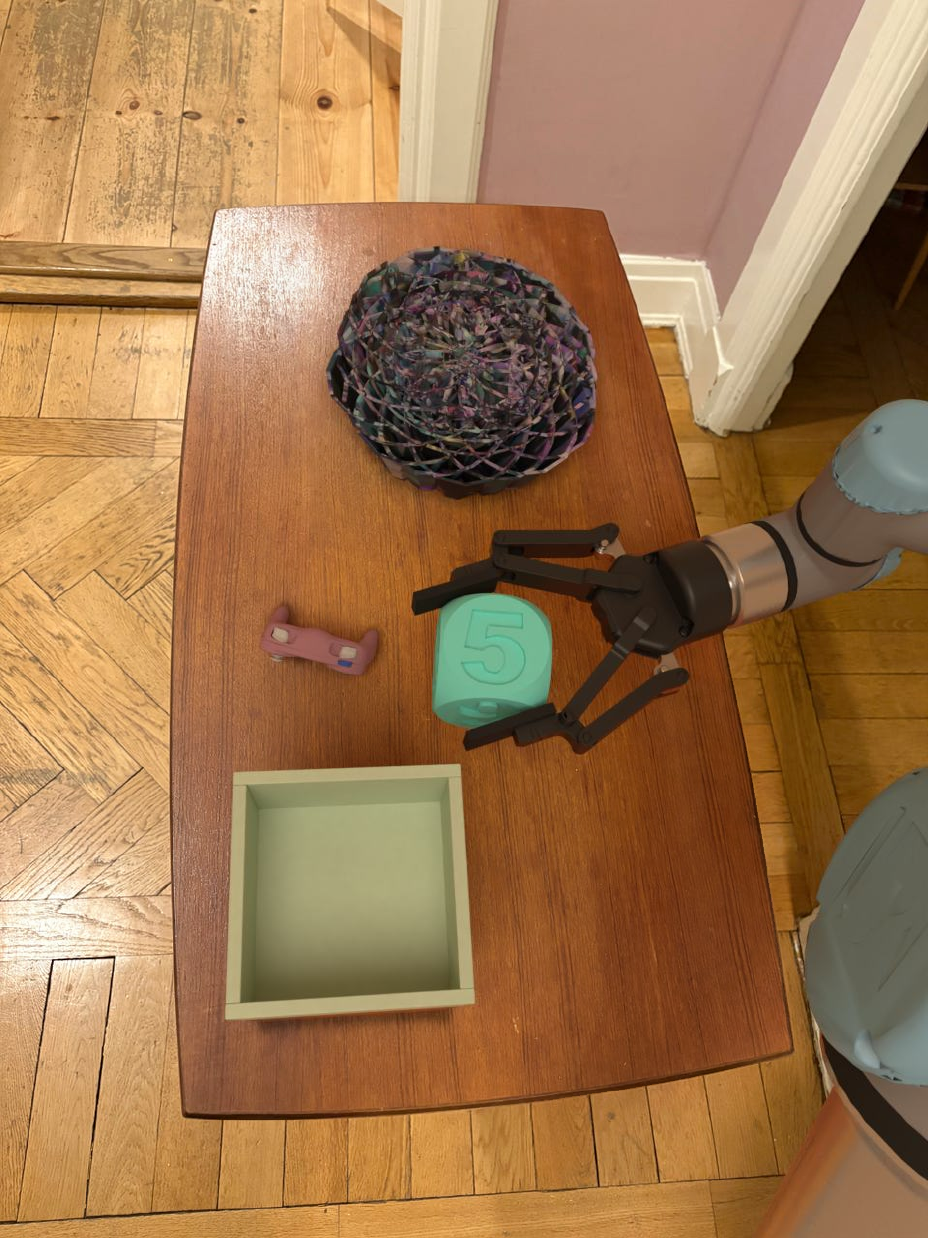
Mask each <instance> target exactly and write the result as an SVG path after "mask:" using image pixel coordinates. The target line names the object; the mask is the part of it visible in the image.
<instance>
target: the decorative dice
mask: <svg viewBox="0 0 928 1238" xmlns="http://www.w3.org/2000/svg"><path fill="white" fill-rule="evenodd" d="M433 654H434V655H433V667H432V670H433V671H432V685H431V686H432V687H431V711H432V712H433V713H434V714H435V715H436V716H437V717H438V718H439V719H440V720H441V721H443V722H445V723H448V724H450V725H453V726H456V727H459V728H464V729H468V730H471V729H474V728H477V727H479V726H482V725H485V724H488V723H491V722H494V721H497V720H500V719H503V718H506V717H509V716H512V715H515V714H518V713H521V712H524V711H527V710H530V709H533V708H536V707H539V706H542V705H545V704H548V699H549V693H550V685H551V678H552V677H551V676H552V664H553V635H552V625H551V621H550V618H549V617H548V616H547V615H546V614H545V613H544V611H543V610H542V609H541V608H539V607H538V606H537V605H536V604H535V603H533V602H531V601H529V600H527V599H525V598H522V597H519V596H516V595H511V594H505V593H497V592H496V593H495V592H493V593H481V594H472V595H466V596H462V597H459V598H456V599H454V600H452V601H450V602H448V603H447V604H446V605H444V606H443V607H442V608H440V609H438V616H437V623H436V632H435V643H434V653H433Z"/></svg>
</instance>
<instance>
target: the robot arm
mask: <svg viewBox="0 0 928 1238" xmlns="http://www.w3.org/2000/svg"><path fill="white" fill-rule="evenodd" d="M619 534H620V527H619V526H618V524H616V523H615V522H608V523H605V524H602V525H599V526H596V527H593V528H590V529H498V530H496V531H495V532H493V534H492V537H491V542H490V546H489V550H488V553H489V557H487V558H485V559H482V560H478V561H474V562H472V563H469V564H465V565H461V566H458V567H455V568H454V569H453V570H452V571H450V576H449V581H446V582H443V583H440V584H436V585H432V586H429V587H426V588H422V589H419V590H415V591H413V592H412V597H411V606H410V607H411V608H410V609H411V611H412V614H413V616H414V617H416V616H419V615H423V614H426V613H430V612H433V611H436V610H440V609H441V608H442V607H443V606H444V605H446V604H447V603H448V602H450V601H452V600H454V599H456V598H459V597H462V596H466V595H472V594H481V593H495V592H496V590H497V587H498V583H499V582H500V583H505V584H510V585H514V586H518V587H522V588H529V589H533V590H537V591H543V592H547V593H552V594H556V595H562V596H567V597H571V598H574V599H575V600H576V601H578V602H580V603H586V604H589V605H590V607H589V608H590V611H591V613H592V615H593V616H594V618H595V619H596V620H597V621H598V623H599V624H600V628H601V635H602V637H603V639H604V641H605V643H606V644H607V643H609V644H610V645H611V646H612V647H611V648H610V650H608V652H607V653H606V654H605V656H604V657H603V658H602V659H601V661H600V662H599V663H598V665H597V666H596V667H595V668H594V670H593V671H592V672H591V673H590V675H589V676H588V677H587V678H586V679H585V681H584V682H583V683H582V685H581V686H580V687H579V688H578V690H577V691H576V692H575V694H574V695H573V696H572V697H571V698H570V699H569V701H568V702H567V704H566V705H565V706H564V707H563V708H562V709H561V711H560V712H558V710H557V708H556V707H555V704H554V702H553V701H552V702H549V703H548V702H547V704H545V705H542V706H539V707H536V708H533V709H530V710H527V711H524V712H521V713H518V714H515V715H512V716H509V717H506V718H503V719H500V720H497V721H494V722H491V723H488V724H485V725H482V726H479V727H477V728H474V729H468V730H466V731H465V733H464V736H463V739H462V746H463V747H464V750H465V752H469V751H473V750H476V749H478V748H481V747H484V746H487V745H490V744H493V743H496V742H499V741H502V740H504V739H508V738H512V739H513V742H514V744H515V747H516V748H525V747H528V746H531V745H534V744H536V743H539V742H542V741H545V740H548V739H551V738H555V737H560V738H563V739H564V740H565V741H566V742H567V743H568V744H569V745H570V746H571V750H572V752H573V753H574V754H576V755H579V756H582V755H585V754H586V753H587V752H589V751H590V750H591V749H593V748H594V747H595V746H596V745H598V744H599V743H601V742H602V741H603V740H605V738H607V737H608V736H610V735H611V734H612V733H613V732H614V731H616V730H617V729H619V728H620V727H621V726H622V725H623V724H625V723H627V721H629V720H630V719H632V718H633V717H634V716H635V715H636V714H638V713H639V712H641V711H642V710H643V709H644V708H646V707H647V706H648V705H650V704H651V703H653V701H655V700H659V699H661V698H665V697H669V696H672V695H675V694H677V693H679V691H680V690H681V689H682V688H683V687H684V686H685V685H686V684H687V683H688V681H689V680H690V677H691V676H690V673H689V671H688V670H687V669H686V668H684V667H680V664H679V662H678V660H677V657H676V655H675V651H676V650H677V649H679V648H680V647H683V646H686V645H689V644H693V643H696V642H698V641H701V640H704V639H707V638H711V637H714V636H716V635H720V634H721V633H723V632H725V631H726V629H727V630H733V629H737V628H740V627H744V626H746V625H749V624H752V623H756V622H759V621H762V620H765V619H768V618H771V617H774V616H776V615H778V614H780V613H785V612H787V611H791V610H794V609H796V608H800V607H803V606H805V605H809V604H813V603H815V602H819V601H821V600H825V599H828V598H831V597H834V596H837V595H840V594H841V595H842V594H843V593H850V592H856V591H859V590H861V589H863V588H865V587H867V586H869V585H870V584H871V583H874V582H877V581H878V580H879V581H880V580H881V579H884V578H886V577H888V576H890V575H891V574H892V573H894V572H895V571H896V570H897V568H898V567H899V566H900V564H901V562H902V553H903V552H904V550H907V551H910V552H914V553H917V554H920V555H924V556H926V557H928V401H927V400H923V399H913V398H904V399H903V398H902V399H898V400H894V401H890V402H888V403H885V404H883V405H881V406H879V407H877V408H876V409H874V410H873V411H872V412H870V414H869V415H868V416H867V417H866V418H864V419H863V420H862V421H861V422H860V423H859V424H858V425H857V426H856V427H855V428H854V429H853V430H852V431H851V432H850V433H849V434H848V435H847V436H846V437H844V438H843V439H842V441H841V442H840V444H839V445H838V446H837V448H835V450H834V453H833V454H832V455H831V456H830V458H829V459H828V461H827V462H826V464H825V465H824V467H823V468H822V469H821V470H820V472H819V473H817V475H816V477H815V478H814V480H812V482H811V483H810V484H809V485H808V486H807V487H806V489H805V490H804V491H803V492H802V493H801V494H800V495H799V497H797V499H796V500H795V501H794V503H793V504H792V505H791V506H790V507H789V508H787V509H785V510H784V511H780V512H778V513H774V514H771V515H768V516H765V517H762V518H759V519H755V520H753V521H749V522H745V523H743V524H739V525H736V526H732V527H729V528H726V529H722V530H719V531H714V532H711V533H708V534H705V535H702V536H699V538H698V539H697V540H696V539H689V540H686V541H682V542H679V543H676V544H672V545H669V546H666V547H663V548H659V549H656V550H653V551H650V552H648V553H645V554H641V555H633V554H630V553H629V554H628V553H626V551H625V549H624V547H623V545H622V543H621V542H620V540H619V538H618V536H619ZM591 557H594V559H595V560H597V561H599V560H607V561H610V563H611V565H610V566H609V568H608V569H607V570H602V569H598V568H593V567H587V568H584V569H583V568H576V567H573V566H567V565H562V564H559V563H554V562H548V561H544V560H540V559H586V558H591ZM631 653H632V654H635V655H639V656H642V657H646V658H648V659H652V660H655V661H656V660H657V665H656V666H655V667H654V668H653V669H652V671H651V672H650V675H649V677H650V678H648V679H647V680H645V681H644V682H642V683H641V684H640V685H639V686H637V687H636V688H635V689H633V690H632V691H631V692H629V693H628V694H627V695H625V696H624V697H623V698H622V699H620V700H618V702H616V703H615V704H614V705H612V706H611V707H610V708H608V709H607V710H606V711H604V713H602V714H601V715H599V716H598V717H596V718H595V719H594V720H592V722H590V723H589V724H588V725H586V726H585V725H584V724H583V723H582V722H581V721H580V720H579V719H580V718H581V717H582V715H583V714H584V713H585V711H586V710H587V709H588V707H590V705H591V704H592V702H593V701H594V700H595V699H596V697H597V696H598V694H600V692H601V691H602V689H603V688H604V687H605V686H606V685H607V683H608V682H609V681H610V680H611V678H612V677H613V676H614V674H615V673H616V672H617V670H618V669H619V668H620V667H621V665H623V663H624V662H625V660H626V659H627V658H628V657H629V655H630V654H631ZM815 901H816V902H817V903H818V904H819V909H818V911H817V913H816V916H815V918H814V919H813V920H812V921H811V922H809V925H808V929H807V935H806V941H805V949H804V981H805V991H806V996H807V1001H808V1004H809V1008H810V1011H811V1014H812V1016H813V1019H814V1021H815V1023H816V1026H817V1027H818V1029H819V1037H818V1039H819V1040H818V1043H819V1049H820V1053H821V1058H822V1061H823V1063H824V1067H825V1070H826V1073H827V1075H828V1077H829V1080H830V1082H831V1084H832V1085H833V1086H832V1088H831V1090H830V1091H829V1094H828V1095H827V1097H826V1098H825V1100H824V1102H823V1104H822V1107H821V1108H820V1110H819V1112H818V1114H817V1116H816V1118H815V1119H814V1121H813V1123H812V1125H811V1127H810V1128H809V1131H808V1132H807V1134H806V1136H805V1138H804V1140H803V1142H802V1144H801V1145H800V1147H799V1149H798V1151H797V1153H796V1155H795V1156H794V1158H793V1160H792V1162H791V1163H790V1166H789V1168H788V1169H787V1171H786V1173H785V1175H784V1177H783V1179H782V1181H781V1182H780V1184H779V1186H778V1188H777V1190H776V1192H775V1194H774V1195H773V1198H772V1199H771V1201H770V1203H769V1205H768V1206H767V1209H766V1210H765V1212H764V1213H763V1215H762V1218H761V1220H760V1221H759V1223H758V1225H757V1227H756V1229H755V1231H754V1232H753V1234H752V1237H751V1238H928V765H927V766H923V767H922V766H921V767H919V768H918V767H917V768H914V769H912V770H910V771H909V772H907V773H905V774H903V775H902V776H900V777H899V778H897V779H896V780H894V781H893V782H891V783H890V784H889V785H888V786H887V787H885V788H883V789H882V790H881V791H880V792H879V793H878V794H877V795H875V797H874V798H873V799H872V800H870V802H869V803H868V804H867V805H866V806H865V807H864V808H863V809H862V811H861V812H860V813H859V815H857V817H856V818H855V819H854V821H853V822H852V824H851V825H850V827H849V828H848V830H847V831H846V832H845V834H844V835H843V837H842V838H841V840H840V842H839V843H838V845H837V847H836V848H835V851H834V852H833V854H832V857H830V860H829V863H828V864H827V867H826V868H825V871H824V872H823V875H822V878H821V880H820V884H819V886H818V890H817V892H816V895H815Z"/></svg>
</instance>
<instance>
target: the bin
mask: <svg viewBox="0 0 928 1238" xmlns="http://www.w3.org/2000/svg"><path fill="white" fill-rule="evenodd" d="M231 800H232V801H231V803H232V805H231V833H230V861H229V862H230V863H229V887H228V889H229V892H228V916H227V917H228V919H227V920H228V921H227V949H226V950H227V952H226V979H225V980H226V981H225V1006H224V1020H225V1021H226V1020H227V1021H247V1020H257V1019H272V1018H288V1017H303V1016H319V1015H334V1014H349V1013H365V1012H380V1011H396V1010H411V1009H426V1008H442V1007H455V1008H458V1007H457V1006H460V1007H465V1006H470V1005H474V1004H476V995H475V993H476V992H475V991H476V990H475V978H474V976H475V975H474V962H473V961H474V960H473V958H474V957H473V945H472V944H473V943H472V942H473V941H472V930H471V929H472V928H471V927H472V926H471V909H470V895H469V878H468V860H467V846H466V845H467V843H466V829H465V828H466V827H465V814H464V813H465V811H464V797H463V779H462V764H461V763H445V764H444V763H442V764H416V765H415V764H413V765H388V766H384V765H383V766H360V767H359V766H358V767H335V768H305V769H283V770H282V769H279V770H277V769H276V770H275V769H274V770H251V771H250V770H249V771H233V773H232V799H231Z"/></svg>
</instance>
